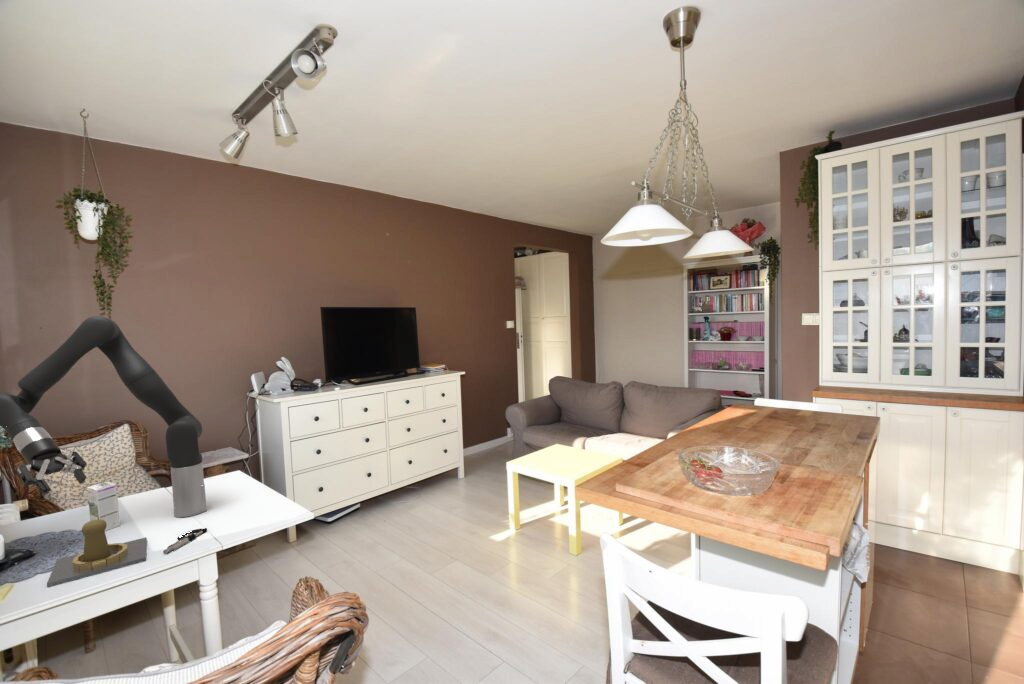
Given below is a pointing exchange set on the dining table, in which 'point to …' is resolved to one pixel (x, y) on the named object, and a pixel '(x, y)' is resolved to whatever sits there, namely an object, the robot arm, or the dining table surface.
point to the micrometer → (184, 540)
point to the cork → (95, 541)
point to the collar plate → (98, 562)
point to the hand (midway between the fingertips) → (66, 486)
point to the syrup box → (104, 504)
